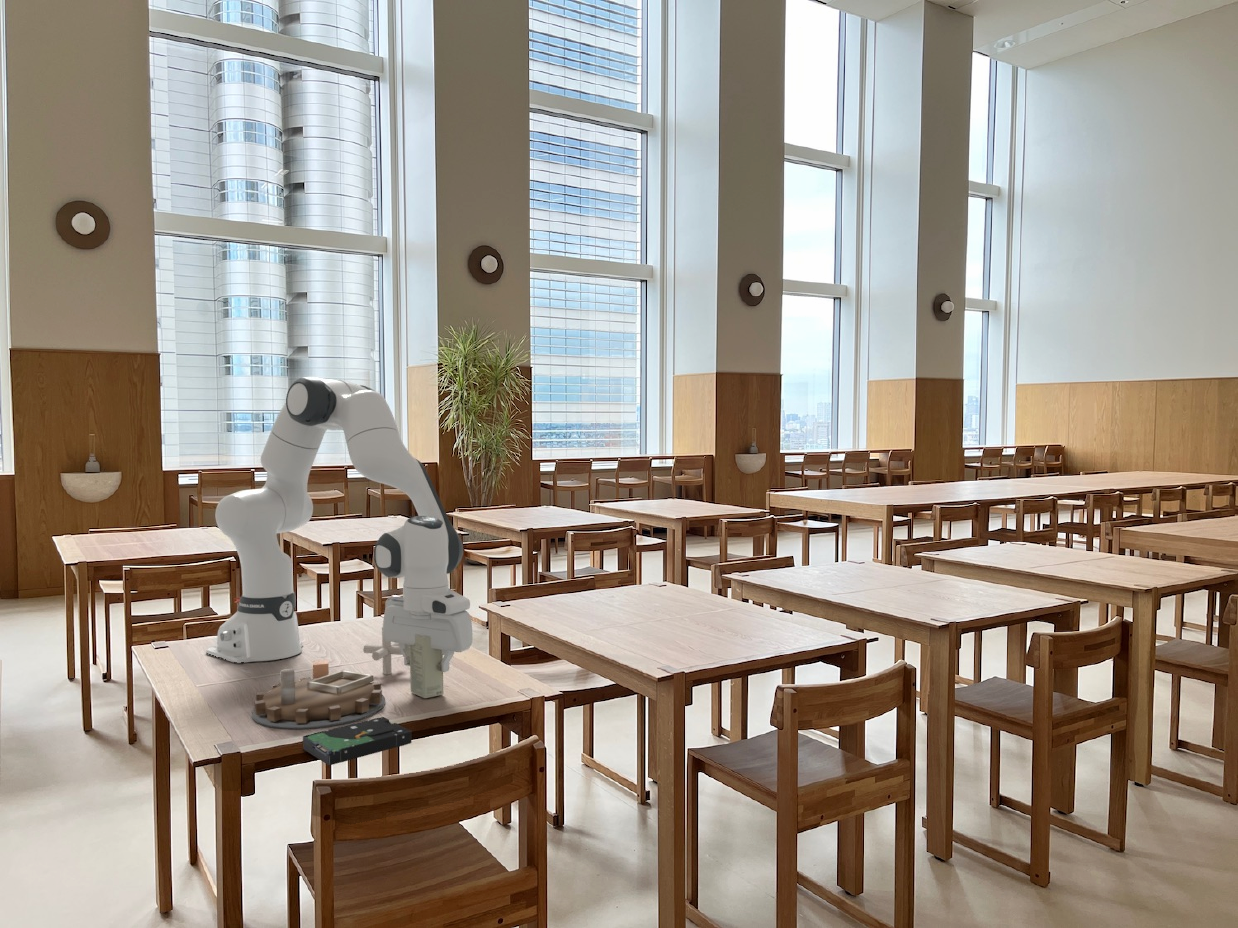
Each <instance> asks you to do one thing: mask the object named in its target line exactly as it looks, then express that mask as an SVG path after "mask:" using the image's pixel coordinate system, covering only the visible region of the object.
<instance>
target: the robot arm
mask: <svg viewBox="0 0 1238 928" xmlns="http://www.w3.org/2000/svg"><path fill="white" fill-rule="evenodd" d="M327 430H330V431H343V433H344V438H345V444H346V447H347V448H346V449H347V451H348V455H349V458H350V462H351V463H352V466H353V467H354V469H355V470H356V472H357V473H359V474H360V475H362V476H363V477H364V478H366V479H368V480H370V481H373V482H376V483H380V484H383V485H385V486H390V487H392V488H395V489H397V490H399V491H401V492H403V494H406V495H407V496H408V498H409V499H410V500H411V501H412V504H413V506H414V508H415V511H416V512H417V516H416V515H414V516H411V517H409V518H407V519H406V520H405V521H404V524H403V525H402V526H399V528H397V529H393V530H391V531H388V532H384V533H383V534H381V536H379V538H378V539H377V541H376V544H375V545H374V548H373V549H374V550H373V559H374V565H375V567H376V568H377V569H378V571H379V572H380V573H381V574H382V575H384V577H386V578H393V579H397V578H399V579H400V578H403V584H402V596H400V595H399V596H398V595H396V594H395V595H394V594H392V595H391V596H390V597H389V596H388V598H387V599H386V600H385V604H384V607H385V608H384V609H385V610H384V614H383V623H382V627H383V637H384V639H385V641H389V642H391V643H392V642H395V643H399V649H400V651H401V653H402V655H401V656H402V657H403V665H404V666H406V667H410V645H414V644H415V634H417V635H426V636H429V637H430V646H431V648H434V649H440V650H442V655H443V660H442V661H441V662H439V663H438V671H441V672H443V673H446V672H449V670H450V662H451V660H452V658H453V657H454V655H455V653H462V652H465V651H467V650H469V649H470V647H472V644H473V622H472V617H471V615H470V613H469V612H468V611H467V610H469V609H470V607H471V600H470V599H469V598H468V597H466V596H464V595H462V594H459V593H458V592H456V591H454V590H453V589H452V588H449V587H450V586H449V583H450V582H449V579H448V578H449V577H448V575H449V574H451V573H452V572H453V571H455V569H456V568H457V567H458V566H459V564H460V562H461V561H462V559H463V555H464V545H463V541H462V539H461V537H460V535H459V534H458V532H457V530H456V529H455V527H454V526H453V524H452V523H451V521H450V518H449V517H448V515H447V513H446V511H445V508H444V506H443V503H442V501H441V499H440V498H439V495H438V493H437V490H436V489H435V486H434V484H433V482H432V479H431V478H430V475H429V474H428V471H427V469H426V468H425V466H424V465H423V463H422V462H421V461H420V460H419V459H416V458H415V457H414V456H413V455H412V454H411V453H410V451H409V450H408V449H407V447H406V445H405V444H404V442H403V439H402V438H401V436H400V433H399V432H400V431H399V428H398V425H397V422H396V420H395V418H394V414H393V413H392V411H391V408H390V405H389V404H388V403H387V400H386V399H385V397H384V396H383V395H382V394H381V393H380V392H378V391H376V390H374V389H372V388H371V387H368V386H366V385H361V384H360V385H359V384H356V383H353V382H350V381H346V380H340V379H329V378H320V377H316V376H307V377H306V376H305V377H300V378H298V379H296V380H294V382H292V383H291V385H290V386H289V388H288V390H287V394H286V397H285V403H284V405H282V408H281V409H280V411H279V413H278V415H277V417H276V419H275V421H274V423H273V425H272V428H271V430H270V433H269V435H268V438H267V441H266V443H265V445H264V447H263V450H262V453H261V455H260V463H261V466H262V468H263V469H264V470H265V472H266V480H265V483H264V485H263V486H262V487H260V488H252V489H244V490H243V489H242V490H239V491H236V492H234V493H231V494H228V495H226V496H224V497H223V498H221V499H220V501H219V502H218V503H217V504H216V505H217V506H216V508H215V515H214V516H215V517H214V518H215V522H216V525H217V527H218V529H219V530H220V532H221V533H222V534H223V535H225V536H226V537H228V538H229V539H230V541H231V542H232V544H233V546H234V547H235V549H236V553H237V555H238V557H239V562H240V567H241V568H240V569H241V584H242V585H241V587H242V594H241V596H238V597H235V598H234V600H236V601H234V603H235V604H237V603H238V606H237V609H236V610H237V611H236V612H235V613H234V614H233V615H231V616H230V617H229V618H228V619H227V620H226V621H225V622H224V623H222V624H221V625H220V626H219V627H218V630H217V636H216V638H217V639H216V644H215V645H213V646H210V647H208V648H206V651H205V653H209V654H211V655H210V656H212V655H214V656H213V657H215V656H216V658H218V657H222V658H224V659H223V660H225V659H226V660H225V661H228V662H231V663H234V662H237V663H236V664H242V663H241V662H244V663H250V662H251V663H252V662H268V661H275V660H280V659H287V658H290V657H293V656H296V655H298V654H301V653H302V651H303V649H302V648H303V640H300V631H299V624H298V623H299V621H298V616H297V612H295V608H296V601H297V599H296V592H295V591H294V575H293V574H294V573H293V572H294V571H293V570H294V569H293V568H294V567H293V561H292V558H291V557H290V555H289V554H287V553H285V552H284V551H283V550H282V548H281V546H280V544H279V541H278V536H277V534H282V533H289V532H291V531H294V530H297V529H298V528H300V527H303V526H305V525H306V524H307V523H308V522H310V520H311V518H312V516H313V513H314V503H313V500H312V498H311V496H310V494H309V493H308V482H309V481H308V480H309V477H310V473H311V469H312V467H313V465H314V463H315V459H316V456H317V455H318V452H319V449H320V447H321V444H322V441H323V439H324V436H325V434H326V432H327ZM209 654H208V655H209Z"/></svg>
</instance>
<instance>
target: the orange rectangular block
mask: <svg viewBox="0 0 1238 928" xmlns="http://www.w3.org/2000/svg"><path fill="white" fill-rule="evenodd" d="M329 662H330V661H329V660H328V659H327V660H326V659H325V660H314V661H312V679H316V678H321V677H324V676H327V675H330V671H329V670H330V669H329V667H330V666H329Z"/></svg>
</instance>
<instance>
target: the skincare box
mask: <svg viewBox="0 0 1238 928" xmlns="http://www.w3.org/2000/svg"><path fill="white" fill-rule="evenodd" d="M443 657H444V655H442V650H440V649H434V648H431V646H430V637H429V636H426V635H417V634H415V644H414V645H410V666H409V671H410V673H409V676H410V677H409V678H410V679H409V681H410V683H409V685H410V693H412V694H413V695H416V696H419V697H421V698H423V699H428V698H434V697H437V696H442V695H444V693H445V692H444V672H441V671H438V663H439V662H441V661H442V660H443Z"/></svg>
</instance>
